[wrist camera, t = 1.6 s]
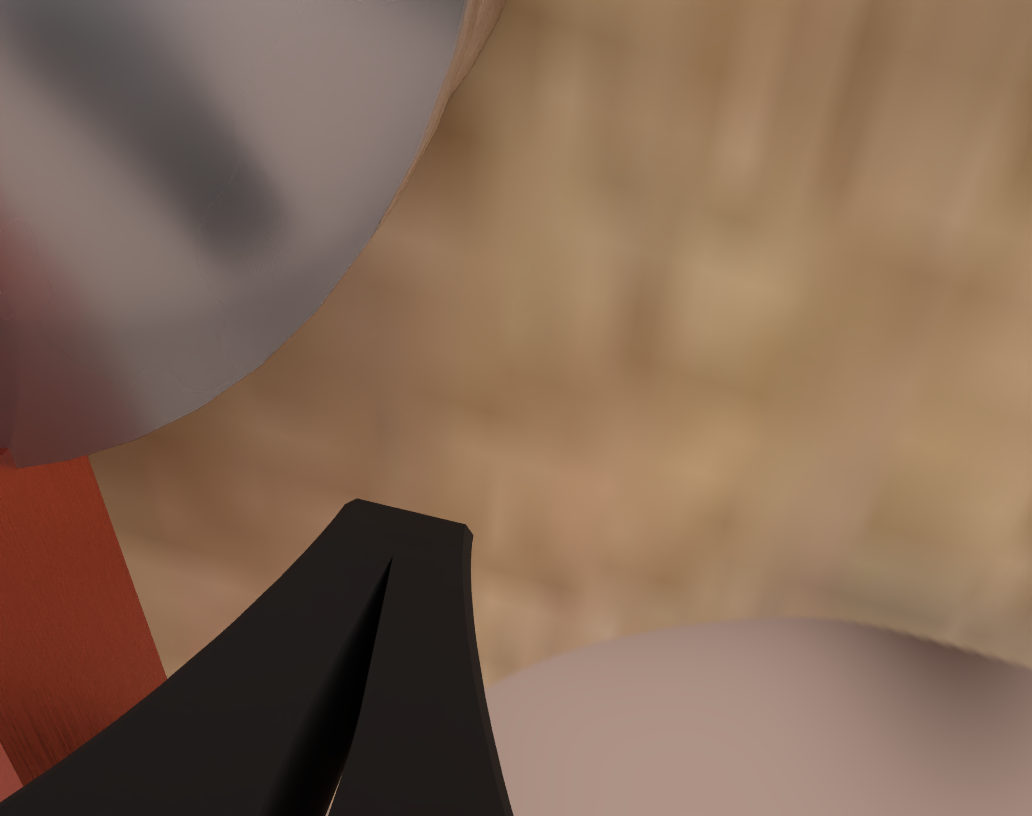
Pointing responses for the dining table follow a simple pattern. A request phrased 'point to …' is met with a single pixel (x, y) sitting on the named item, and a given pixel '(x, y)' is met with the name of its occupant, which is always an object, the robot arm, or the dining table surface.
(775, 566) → the dining table surface
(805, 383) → the dining table surface
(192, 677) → the robot arm
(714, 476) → the dining table surface
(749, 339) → the dining table surface
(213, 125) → the cooker lid
